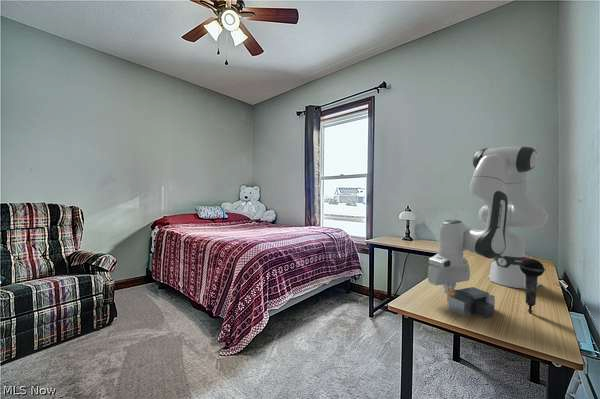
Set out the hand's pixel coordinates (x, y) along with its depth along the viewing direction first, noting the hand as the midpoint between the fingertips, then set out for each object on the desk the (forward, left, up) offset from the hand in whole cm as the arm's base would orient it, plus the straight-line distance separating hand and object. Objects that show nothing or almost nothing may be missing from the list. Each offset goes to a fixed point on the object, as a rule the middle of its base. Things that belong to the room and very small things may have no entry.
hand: (449, 293), depth 100 cm
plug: (0, +8, -3) cm, 9 cm away
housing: (0, +9, -3) cm, 9 cm away
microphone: (-18, +18, -3) cm, 26 cm away
